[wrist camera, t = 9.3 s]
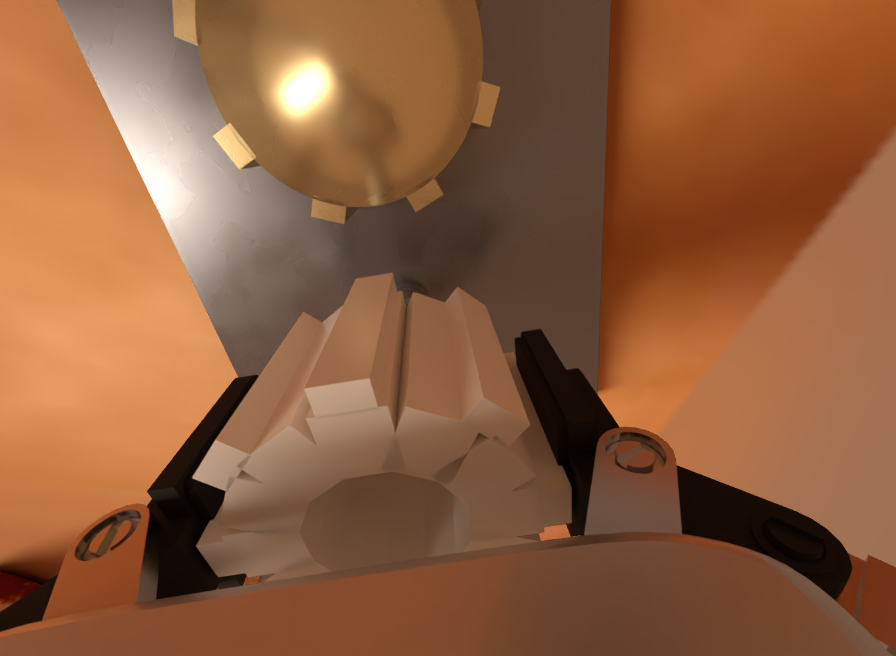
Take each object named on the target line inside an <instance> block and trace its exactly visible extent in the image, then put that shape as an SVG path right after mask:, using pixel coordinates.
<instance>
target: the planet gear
mask: <svg viewBox="0 0 896 656" xmlns="http://www.w3.org/2000/svg"><path fill="white" fill-rule="evenodd" d="M192 478H193V479H195V480H198V481H201V482H203V483H206V484H208V485H211V486H214V487H216V488H219V489H221V490H224V491H226V492H225V497H224V502H223V504H222V506H221V507H220V509H219V511H218V513H217V515H216V517H215V518H214V520H210V521H209V523H208V525H207V527H206V529H205V530H204V532H203V534H202V536H201V538H200V539H199V541H198V543H197V545H196V547H197V548H198V550H199V551H200V553H201V554H202V555H203V557H204V558H205V560H206V561H207V562H208V564H209V565H210V567H211V568H212V569H213V571H214V572H215V574H216V575H217V576H218V577H223V576H230V575H236V574H243V573H245V574H246V575H247V577H248V578H249V577H255V576H260V579H259V582H258V583H263V582H270V581H276V580H282V579H289V578H295V577H302V576H308V575H315V574H321V573H328V572H334V571H341V570H347V569H354V568H360V567H367V566H373V565H380V564H386V563H393V562H400V561H406V560H413V559H420V558H427V557H433V556H440V555H447V554H453V553H460V552H467V551H474V550H480V549H487V548H494V547H501V546H507V545H515V544H522V543H530V542H538V541H541V540H540V537H539V533H541V532H544V527H549V526H555V525H562V524H568V523H572V487H571V485H570V483H569V480H568V478H567V476H566V473H565V471H564V469H563V466H558V464H557V462H556V460H555V457H554V455H553V452H552V450H551V447H550V445H549V443H548V440H547V438H546V435H545V433H544V430H543V428H542V426H541V423H540V421H539V418H538V416H537V414H536V411H535V409H534V406H533V404H532V401H531V399H530V397H529V394H528V392H527V389H526V387H525V384H524V382H523V380H522V377H521V375H520V372H519V370H518V368H517V365H516V356H515V354H514V352H510V353H503V351H502V348H501V346H500V343H499V340H498V338H497V335H496V332H495V330H494V327H493V324H492V322H491V319H490V316H489V314H488V311H487V308H486V306H485V305H484V304H482V303H481V302H479V301H478V300H476V299H475V298H473V297H472V296H470V295H469V294H468V293H466V292H465V291H463V290H462V289H460V288H459V287H457V288H456V289H455V290H454V292H453V293H452V294H451V296H450V297H449V298H448V299H447V301H446V302H442V301H439V300H436V299H433V298H430V297H427V296H424V295H421V294H419V293H416V292H413V294H412V296H411V299H410V302H409V304H408V307H407V310H406V305H405V300H404V296H403V291H398V292H397V290H396V285H395V281H394V276H393V273H388V274H381V275H375V276H369V277H363V278H357V279H355V282H354V284H353V286H352V288H351V290H350V292H349V294H348V296H347V299H346V301H345V303H344V305H343V306H341V307H340V308H339V309H338V310H337V311H335V312H334V313H333V314H332V315H330V316H329V317H328V318H327V319H326V320H324V321H323V322H320V321H319V320H317V319H315V318H313V317H312V316H310V315H308V314H306V313H305V312H303V313H302V314H301V316H300V317H299V318H298V320H297V321H296V323H295V324H294V326H293V327H292V329H291V330H290V332H289V333H288V335H287V336H286V337H285V339H284V340H283V342H282V343H281V345H280V346H279V348H278V349H277V351H276V352H275V354H274V355H273V356H272V358H271V359H270V361H269V362H268V364H267V365H266V367H265V368H264V370H263V371H262V373H261V374H260V375H259V377H258V378H257V380H256V381H255V383H254V384H253V386H252V387H251V389H250V390H249V392H248V393H247V394H246V396H245V397H244V399H243V400H242V402H241V403H240V405H239V406H238V408H237V409H236V411H235V412H234V413H233V415H232V416H231V418H230V419H229V421H228V422H227V424H226V425H225V427H224V428H223V430H222V431H221V432H220V434H219V435H218V437H217V438H216V440H215V441H214V443H213V445H212V446H211V448H210V449H209V451H208V453H207V454H206V456H205V458H204V459H203V461H202V462H201V464H200V466H199V467H198V469H197V471H196V472H195V474H194V475H193V477H192Z"/></svg>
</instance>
